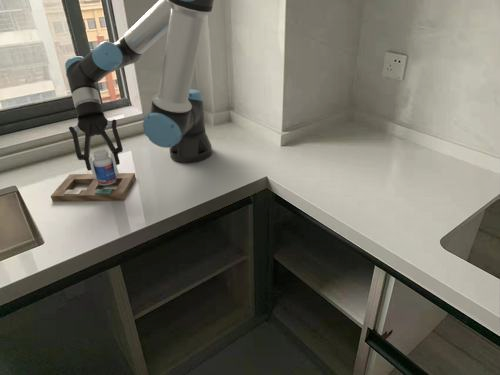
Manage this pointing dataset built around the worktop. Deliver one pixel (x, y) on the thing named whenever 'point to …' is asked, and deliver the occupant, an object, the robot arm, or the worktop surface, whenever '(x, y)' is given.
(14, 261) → the worktop surface
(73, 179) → the socket plate
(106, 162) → the pill bottle
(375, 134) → the worktop surface
